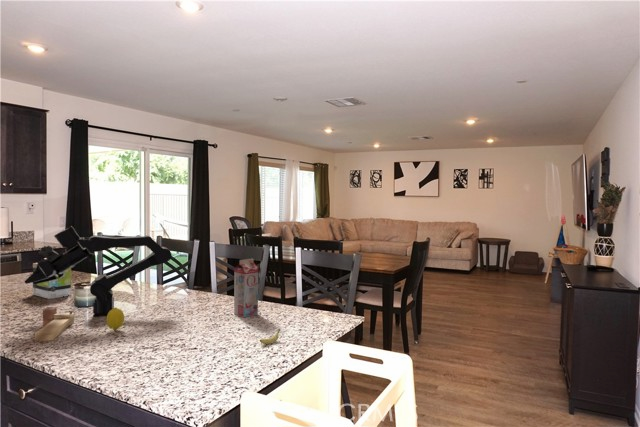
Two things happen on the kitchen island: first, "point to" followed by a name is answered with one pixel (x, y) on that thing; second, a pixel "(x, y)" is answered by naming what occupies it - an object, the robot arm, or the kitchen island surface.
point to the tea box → (53, 286)
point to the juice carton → (246, 288)
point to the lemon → (115, 318)
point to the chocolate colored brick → (54, 315)
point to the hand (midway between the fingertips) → (29, 283)
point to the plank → (53, 329)
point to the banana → (270, 339)
